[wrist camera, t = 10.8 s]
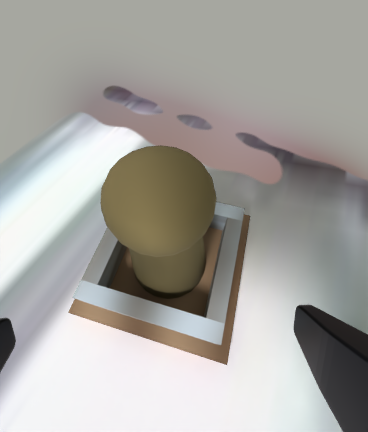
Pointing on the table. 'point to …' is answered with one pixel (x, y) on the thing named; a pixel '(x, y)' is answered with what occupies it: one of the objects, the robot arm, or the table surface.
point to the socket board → (175, 307)
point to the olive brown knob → (161, 216)
